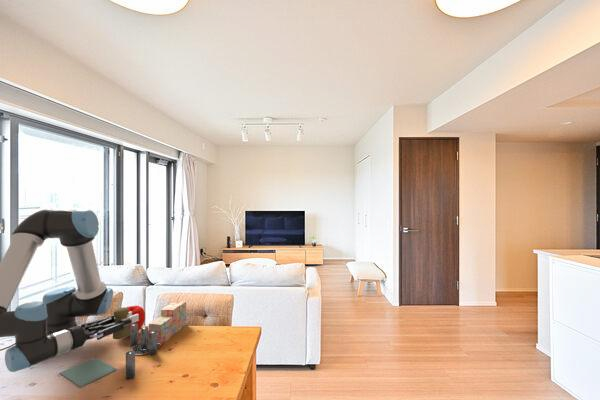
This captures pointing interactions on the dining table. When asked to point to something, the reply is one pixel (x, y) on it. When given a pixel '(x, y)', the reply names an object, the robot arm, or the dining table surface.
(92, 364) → the mat
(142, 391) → the dining table surface
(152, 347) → the spacer posts
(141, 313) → the apple
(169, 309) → the stack of blocks
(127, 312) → the cork
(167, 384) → the dining table surface
